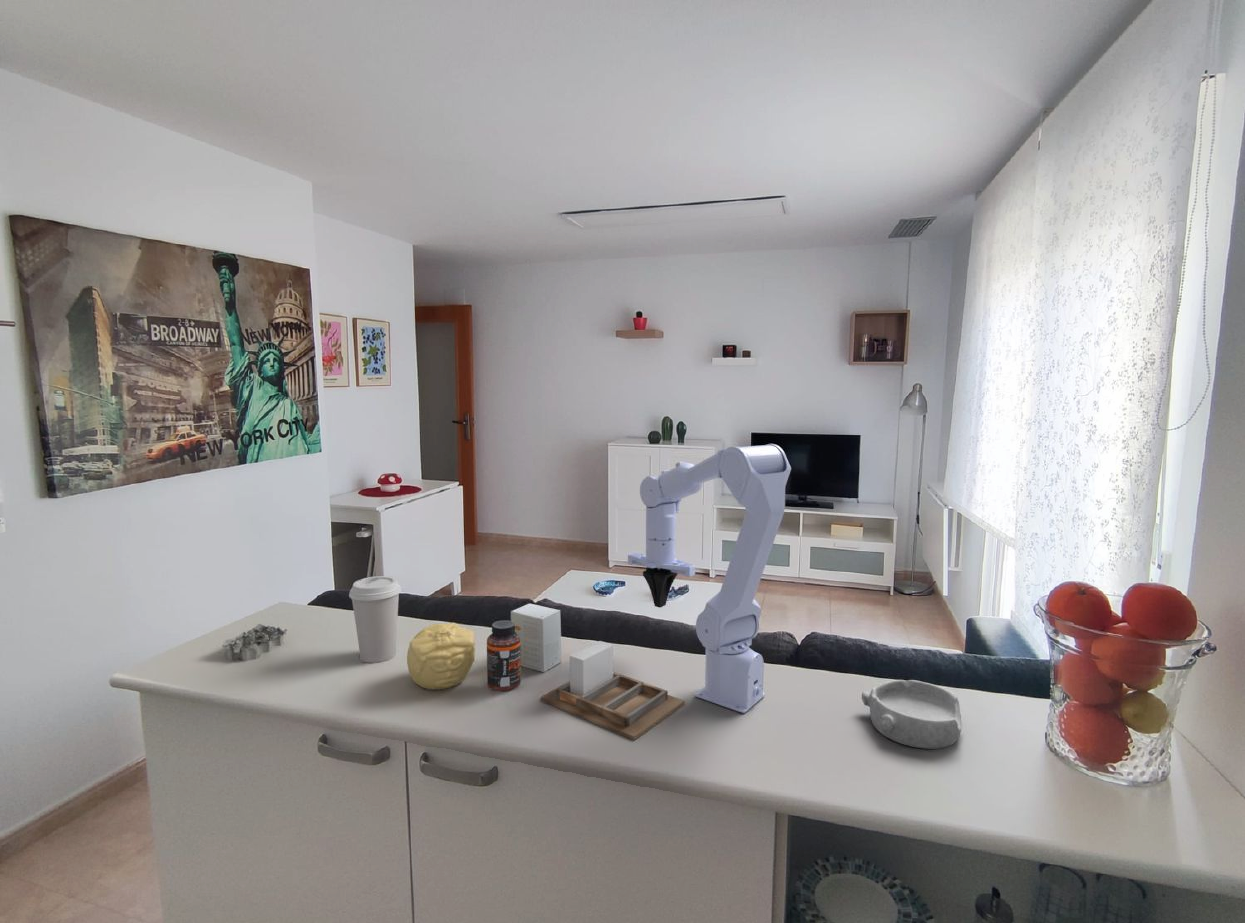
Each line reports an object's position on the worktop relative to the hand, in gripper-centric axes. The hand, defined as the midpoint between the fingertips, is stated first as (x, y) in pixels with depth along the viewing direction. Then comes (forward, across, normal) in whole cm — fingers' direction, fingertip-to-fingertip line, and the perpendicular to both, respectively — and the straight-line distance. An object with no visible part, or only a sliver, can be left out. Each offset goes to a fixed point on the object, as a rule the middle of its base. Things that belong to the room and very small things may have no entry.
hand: (660, 605), depth 123 cm
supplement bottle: (+11, -15, -27) cm, 33 cm away
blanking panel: (+10, -1, -20) cm, 22 cm away
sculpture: (+11, -25, -33) cm, 43 cm away
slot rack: (+10, +4, -20) cm, 23 cm away
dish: (+11, +46, +3) cm, 47 cm away
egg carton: (+11, -66, -48) cm, 82 cm away
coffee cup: (+11, -44, -34) cm, 57 cm away
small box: (+11, -17, -17) cm, 26 cm away
